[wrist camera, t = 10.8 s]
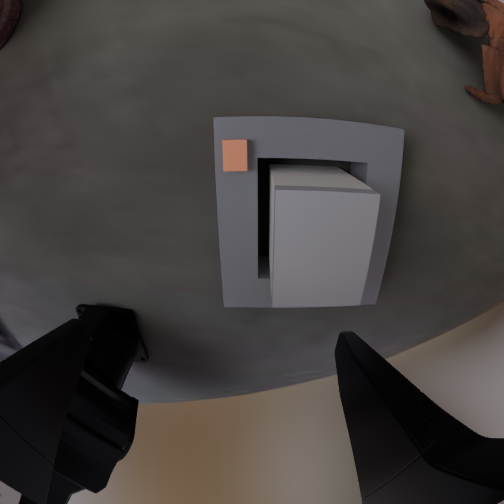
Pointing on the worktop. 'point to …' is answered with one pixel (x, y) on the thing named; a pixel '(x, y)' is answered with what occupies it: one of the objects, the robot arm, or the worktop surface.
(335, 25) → the worktop surface
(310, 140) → the socket block
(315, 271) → the plug
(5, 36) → the can
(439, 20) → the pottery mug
